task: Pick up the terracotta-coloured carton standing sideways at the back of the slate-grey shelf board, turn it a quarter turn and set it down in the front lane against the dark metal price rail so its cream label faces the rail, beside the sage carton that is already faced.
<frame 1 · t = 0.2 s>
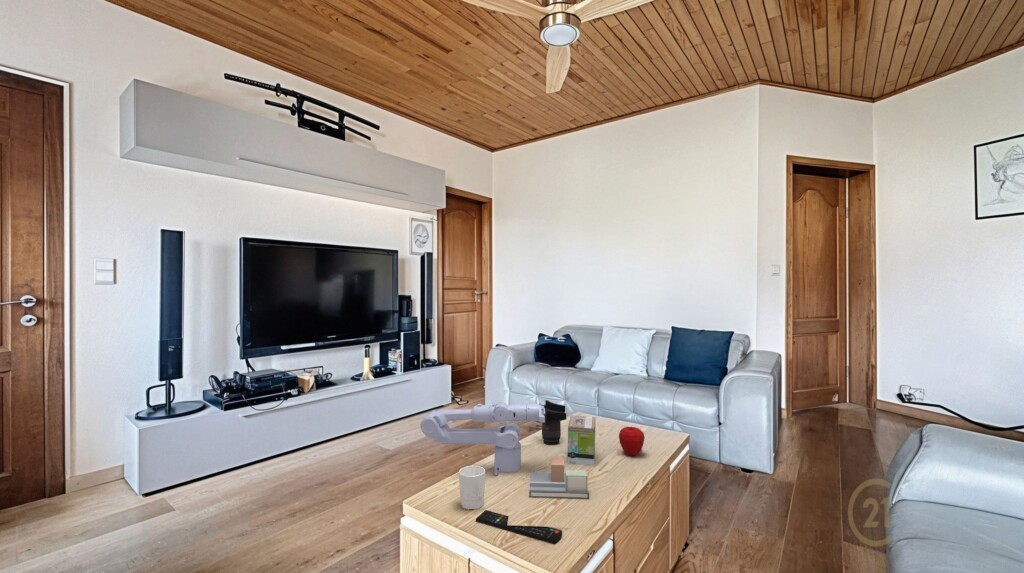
hand: (565, 412, 152), 21 cm above the table, tool horizontal, fingers open, 7 cm apart
sage carton: (576, 492, 135), point 1 cm above the table, touching shelf board
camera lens: (551, 442, 182), on the table
shelf board: (557, 488, 140), on the table
remote control: (518, 530, 117), on the table
white cup: (472, 505, 130), on the table
terracotta carton: (557, 479, 144), point 1 cm above the table, touching shelf board
tea box: (581, 460, 164), on the table
apple: (631, 454, 169), on the table
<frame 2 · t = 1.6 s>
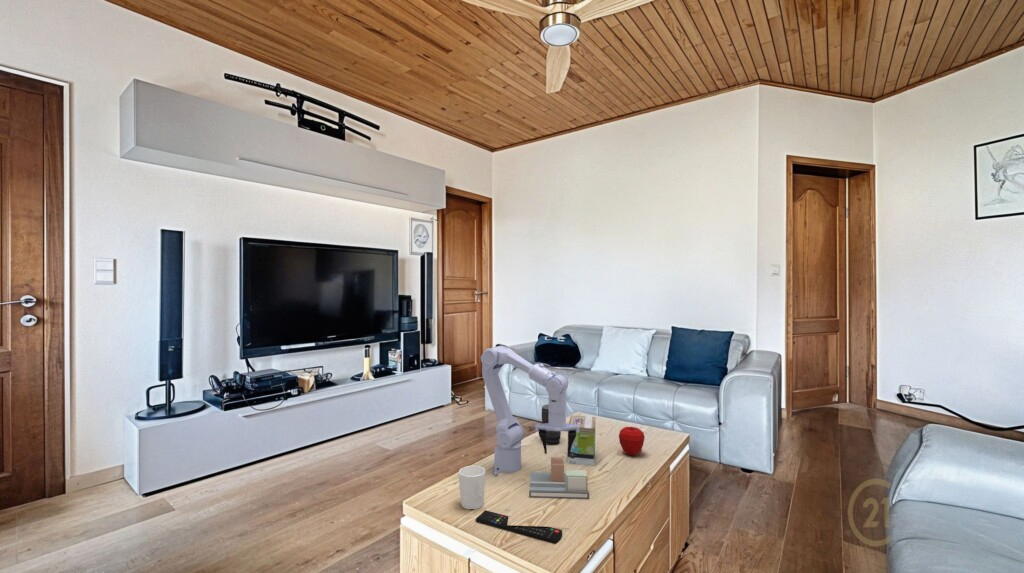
hand: (557, 452, 144), 10 cm above the table, tool pointing down, fingers open, 7 cm apart
nothing on the table moved.
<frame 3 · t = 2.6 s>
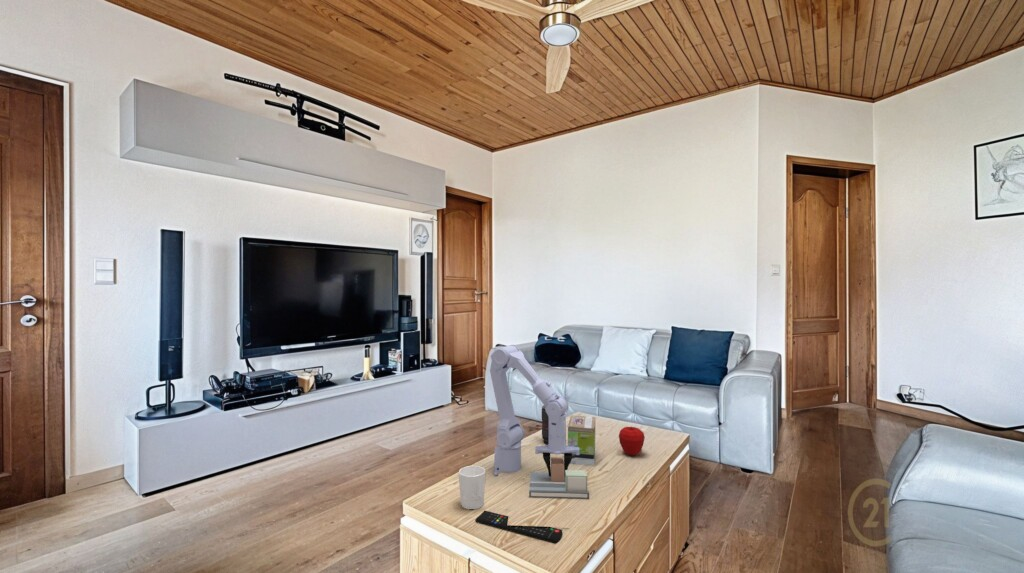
hand: (557, 475, 144), 2 cm above the table, tool pointing down, fingers closed on terracotta carton, 4 cm apart
terracotta carton: (557, 479, 144), point 1 cm above the table, touching gripper, shelf board
everything else where it was.
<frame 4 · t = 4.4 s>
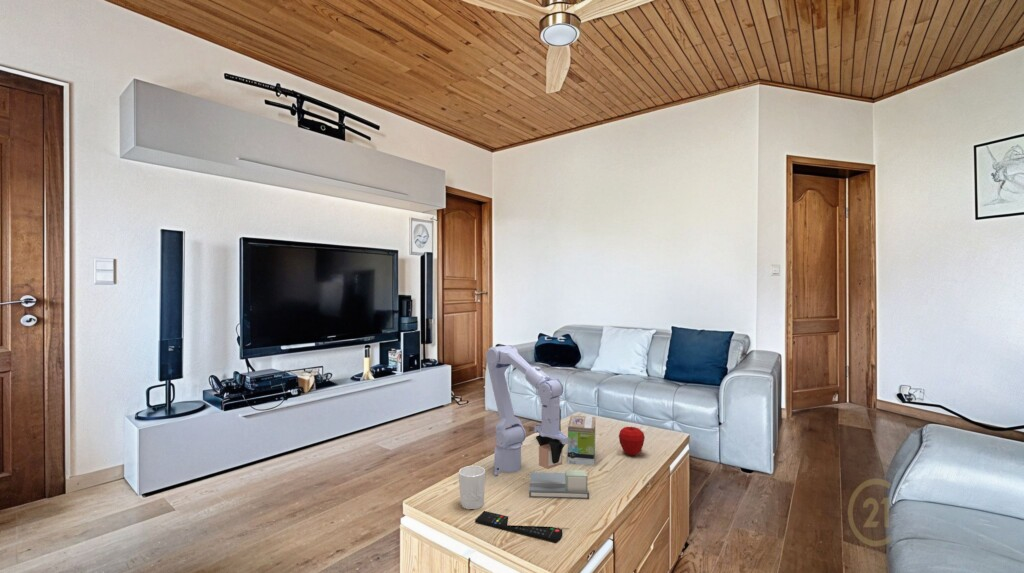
hand: (550, 460, 140), 9 cm above the table, tool pointing down, fingers closed on terracotta carton, 4 cm apart
terracotta carton: (550, 464, 140), point 8 cm above the table, touching gripper
everything else where it was.
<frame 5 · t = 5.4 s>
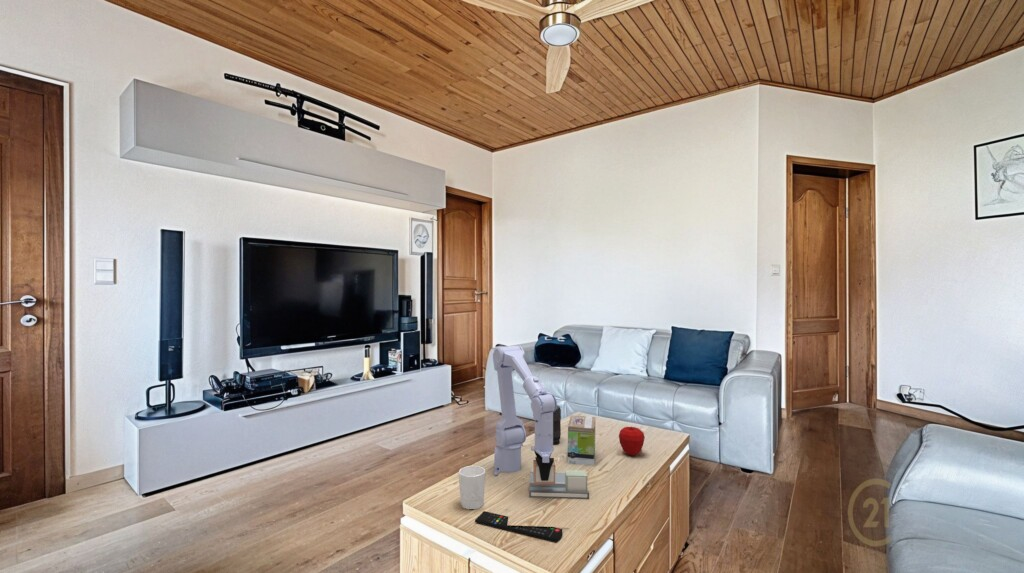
hand: (544, 476, 136), 6 cm above the table, tool pointing down, fingers closed on terracotta carton, 4 cm apart
terracotta carton: (544, 481, 136), point 4 cm above the table, touching gripper
everything else where it was.
when the fingers open (4 cm above the table, at t = 6.2 s): terracotta carton stays where it is, resting on shelf board.
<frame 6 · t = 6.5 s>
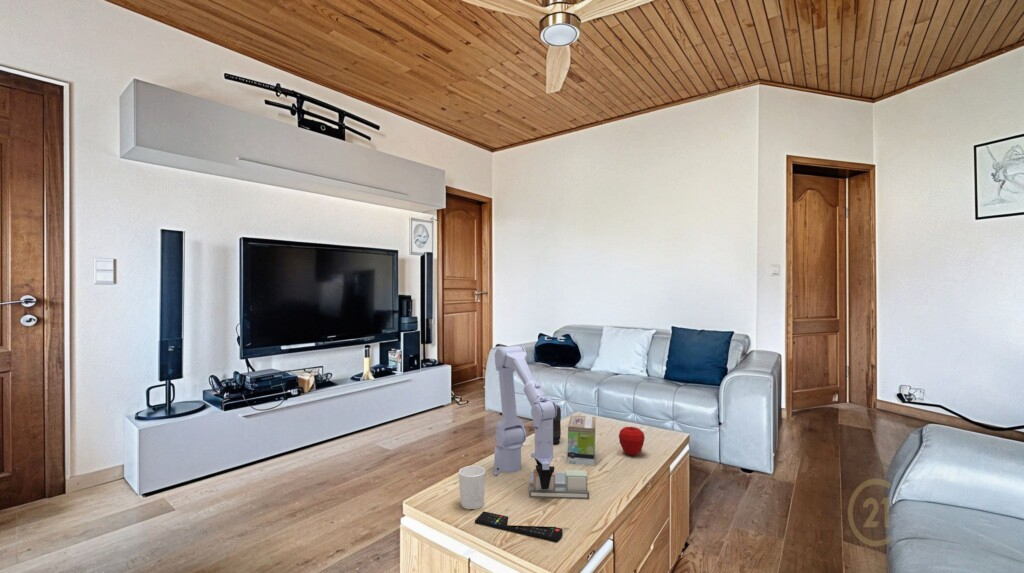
hand: (543, 483, 136), 4 cm above the table, tool pointing down, fingers open, 6 cm apart
terracotta carton: (544, 491, 136), point 1 cm above the table, touching shelf board
everything else where it was.
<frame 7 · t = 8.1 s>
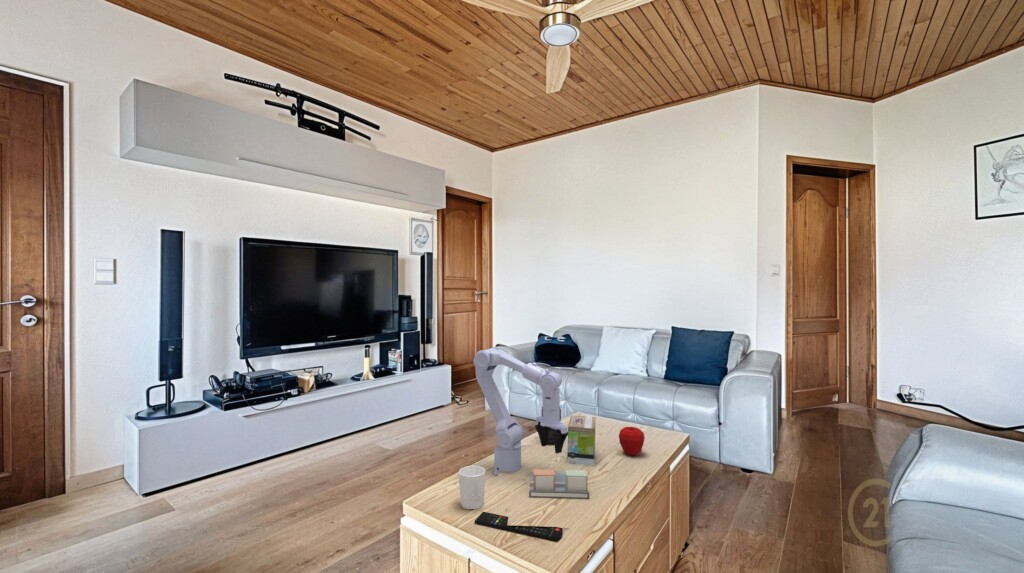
hand: (551, 449, 146), 10 cm above the table, tool pointing down, fingers open, 7 cm apart
nothing on the table moved.
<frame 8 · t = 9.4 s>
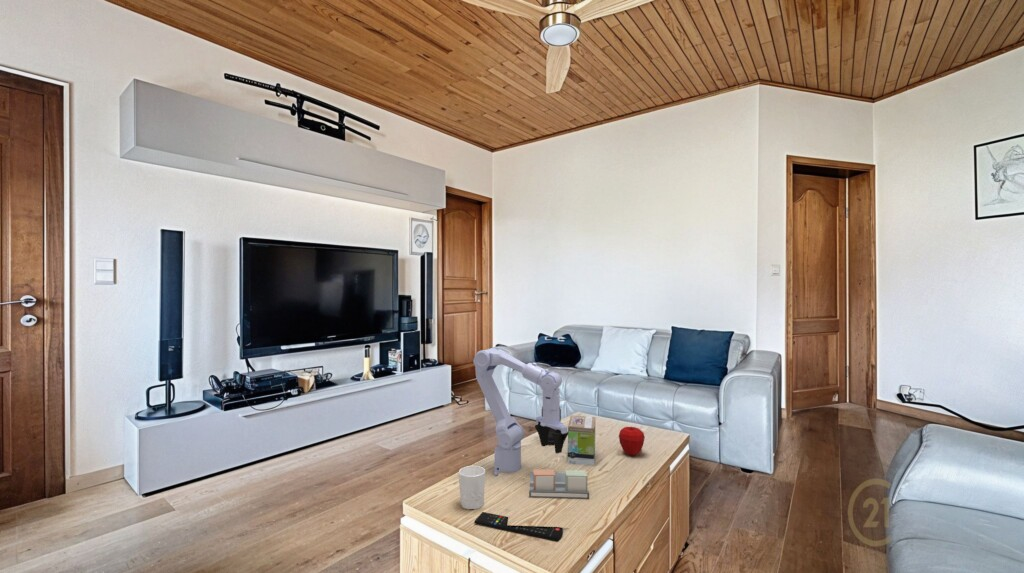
hand: (551, 449, 146), 10 cm above the table, tool pointing down, fingers open, 7 cm apart
nothing on the table moved.
at the end: terracotta carton inside the target area (0.5 cm from its centre), point 1.2 cm above the table; terracotta carton tilted 0°; the gripper is holding nothing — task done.
